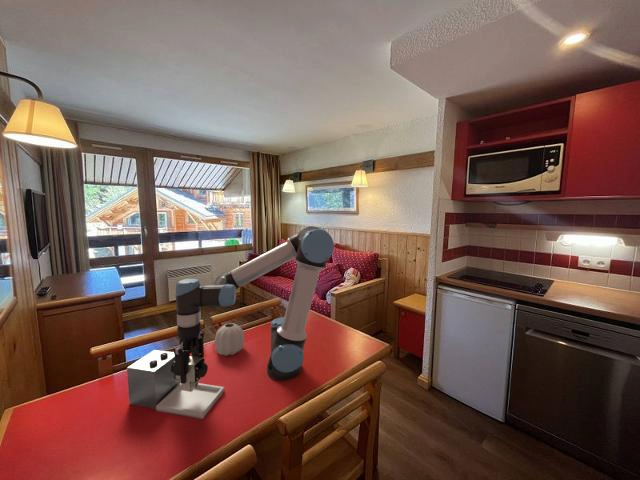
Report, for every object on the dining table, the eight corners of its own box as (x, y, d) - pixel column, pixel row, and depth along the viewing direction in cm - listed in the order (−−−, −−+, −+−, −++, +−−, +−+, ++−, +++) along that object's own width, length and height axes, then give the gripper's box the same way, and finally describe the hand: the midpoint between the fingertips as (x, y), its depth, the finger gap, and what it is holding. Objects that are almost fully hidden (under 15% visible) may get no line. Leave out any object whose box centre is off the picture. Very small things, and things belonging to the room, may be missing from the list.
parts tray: (224, 391, 102) (224, 386, 102) (202, 419, 88) (202, 413, 88) (183, 385, 105) (183, 380, 105) (156, 411, 92) (156, 405, 91)
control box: (180, 386, 104) (178, 350, 102) (156, 409, 92) (154, 368, 91) (155, 382, 106) (152, 347, 104) (128, 404, 94) (125, 364, 93)
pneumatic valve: (200, 395, 92) (199, 363, 91) (171, 390, 94) (169, 358, 93) (210, 385, 98) (209, 354, 96) (182, 380, 100) (180, 350, 98)
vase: (248, 353, 129) (248, 327, 127) (218, 362, 121) (217, 334, 119) (239, 341, 140) (239, 317, 139) (211, 348, 132) (211, 323, 131)
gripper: (195, 312, 103) (197, 368, 105) (159, 333, 85) (163, 400, 88) (213, 314, 101) (214, 371, 104) (180, 336, 84) (183, 404, 86)
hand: (191, 384), depth 96 cm, fingers closed on pneumatic valve, 5 cm apart
